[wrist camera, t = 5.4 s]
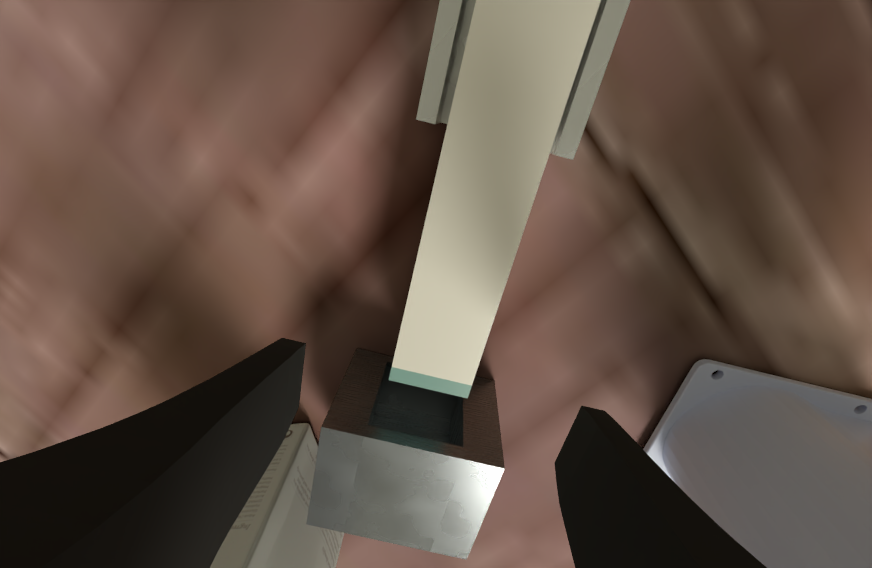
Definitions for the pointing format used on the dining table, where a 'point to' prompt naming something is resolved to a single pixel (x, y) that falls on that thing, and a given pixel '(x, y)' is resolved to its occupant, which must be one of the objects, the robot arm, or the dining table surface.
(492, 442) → the socket
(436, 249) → the inner rod
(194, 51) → the dining table surface
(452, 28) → the sleeve
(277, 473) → the skincare box
